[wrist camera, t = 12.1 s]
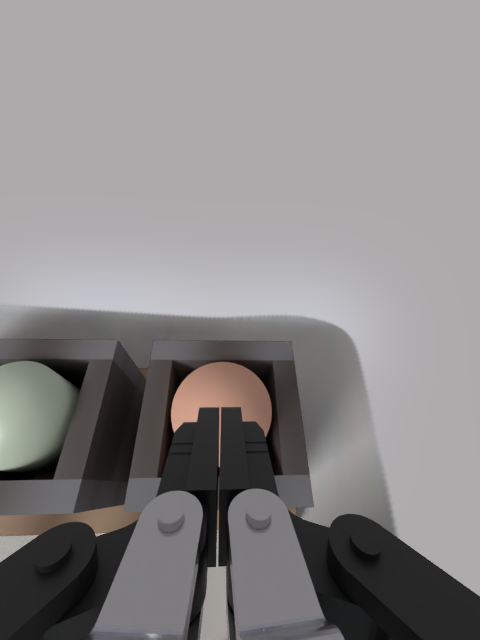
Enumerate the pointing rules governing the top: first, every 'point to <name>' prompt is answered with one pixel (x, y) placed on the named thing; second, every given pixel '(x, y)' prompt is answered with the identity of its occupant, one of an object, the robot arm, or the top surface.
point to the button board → (139, 429)
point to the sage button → (33, 417)
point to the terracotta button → (222, 395)
